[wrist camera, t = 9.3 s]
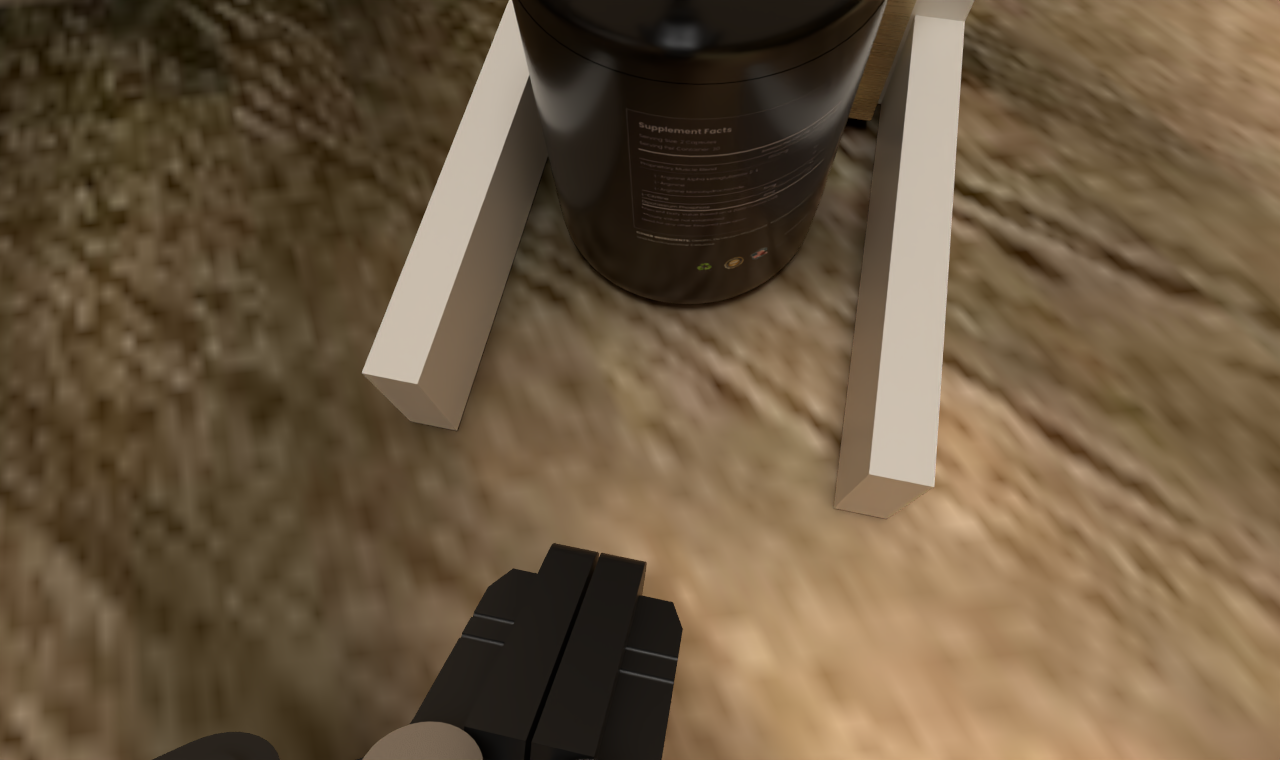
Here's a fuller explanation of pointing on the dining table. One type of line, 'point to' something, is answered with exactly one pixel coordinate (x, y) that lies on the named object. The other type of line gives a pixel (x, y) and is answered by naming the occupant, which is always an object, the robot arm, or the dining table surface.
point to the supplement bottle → (693, 130)
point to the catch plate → (881, 57)
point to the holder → (889, 285)
